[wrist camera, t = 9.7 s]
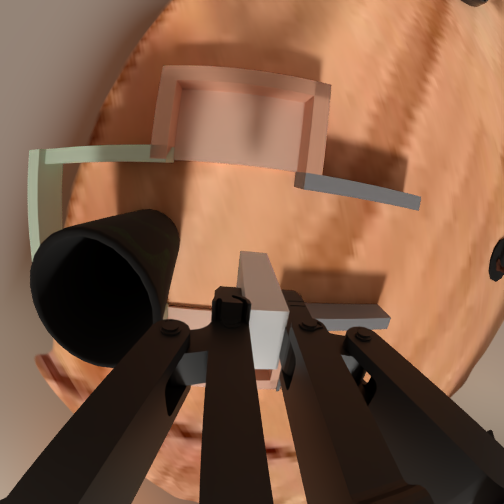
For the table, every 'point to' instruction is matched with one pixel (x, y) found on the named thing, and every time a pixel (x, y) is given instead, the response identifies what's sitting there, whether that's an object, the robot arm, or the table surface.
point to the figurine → (497, 262)
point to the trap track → (225, 159)
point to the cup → (105, 283)
